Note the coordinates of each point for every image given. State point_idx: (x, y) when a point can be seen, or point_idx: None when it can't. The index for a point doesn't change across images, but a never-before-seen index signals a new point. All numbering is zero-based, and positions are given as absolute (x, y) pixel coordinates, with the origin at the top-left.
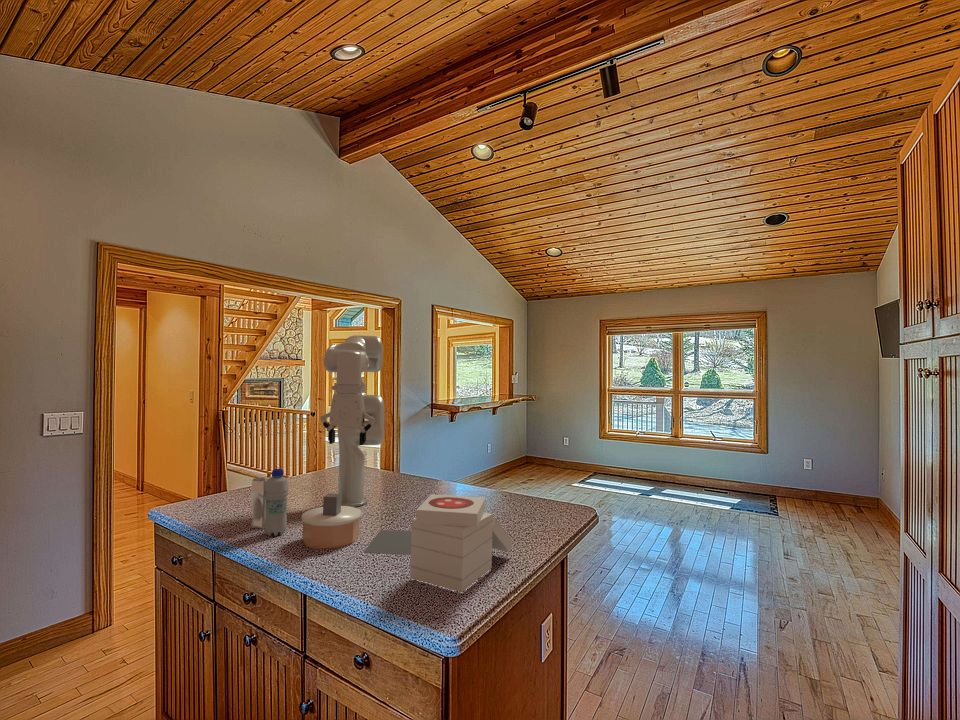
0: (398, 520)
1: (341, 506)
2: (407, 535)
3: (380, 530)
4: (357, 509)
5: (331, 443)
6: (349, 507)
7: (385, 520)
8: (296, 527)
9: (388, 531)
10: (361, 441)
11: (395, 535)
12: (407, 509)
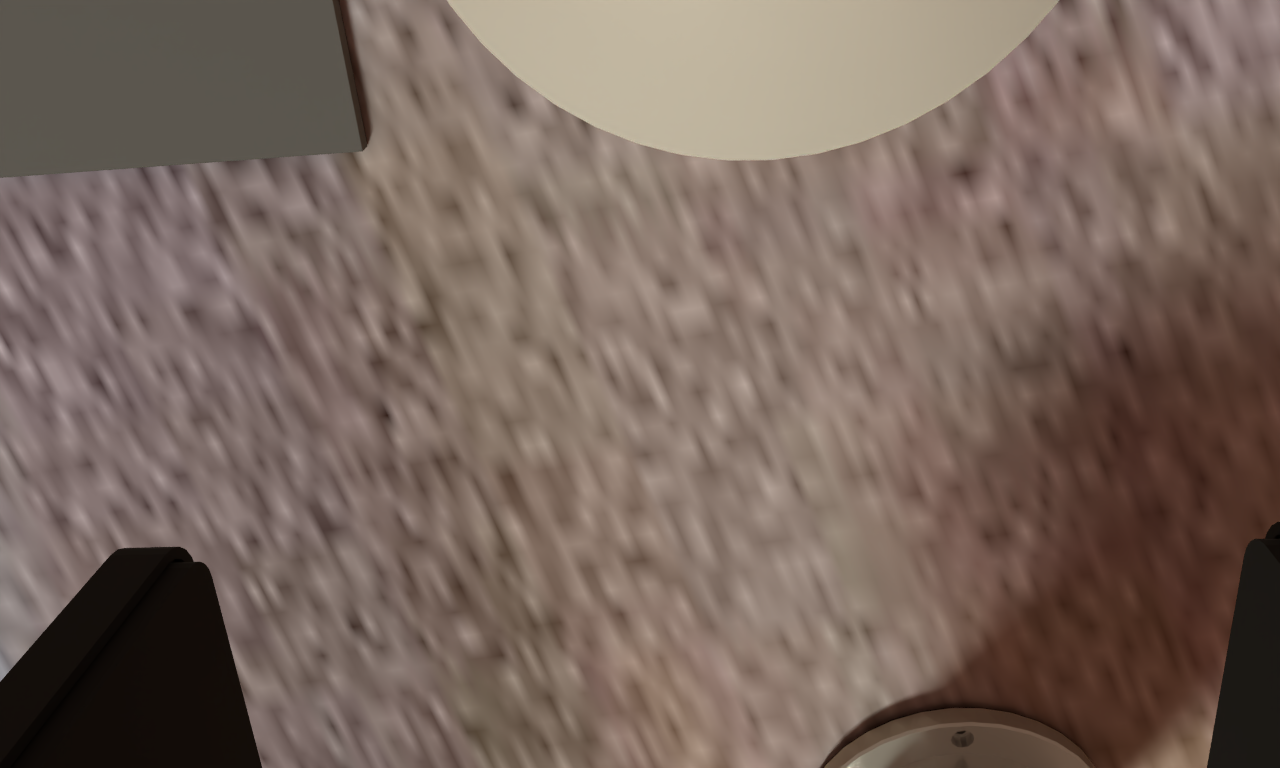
0: (348, 469)
1: (759, 127)
2: (35, 38)
3: (355, 131)
4: (506, 40)
5: (1259, 539)
6: (643, 108)
7: (462, 450)
8: (1259, 113)
9: (266, 116)
10: (58, 620)
11: (147, 16)
12: (399, 736)
